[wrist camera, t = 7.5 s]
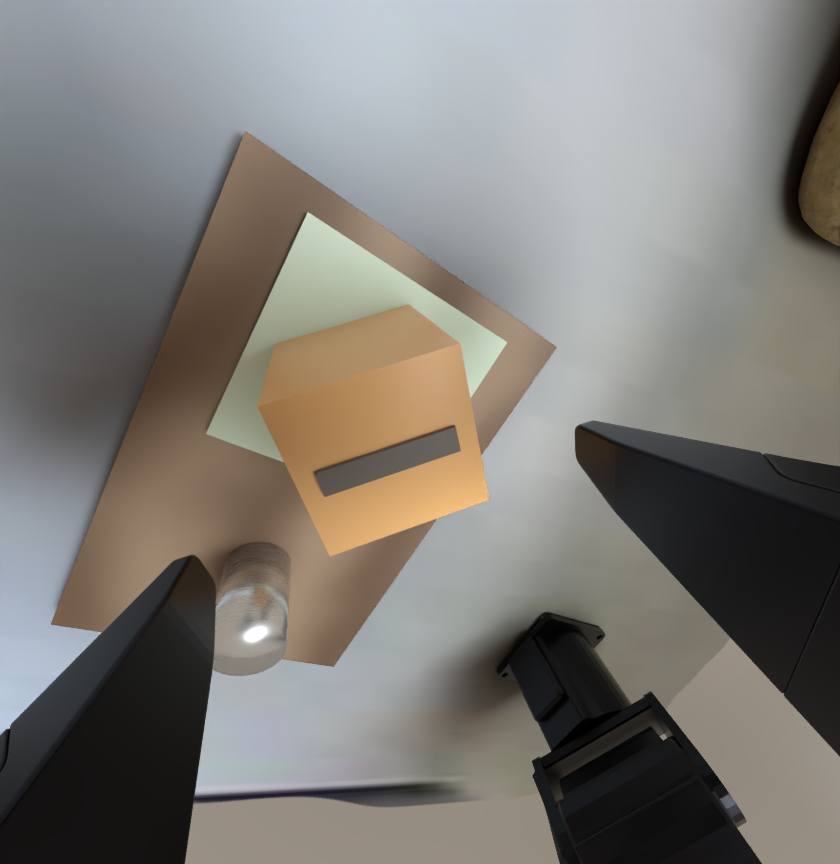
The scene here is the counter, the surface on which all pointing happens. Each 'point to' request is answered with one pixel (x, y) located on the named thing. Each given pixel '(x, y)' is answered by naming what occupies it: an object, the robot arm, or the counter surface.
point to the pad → (332, 322)
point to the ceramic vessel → (823, 176)
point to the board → (244, 469)
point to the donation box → (374, 426)
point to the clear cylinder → (252, 609)
